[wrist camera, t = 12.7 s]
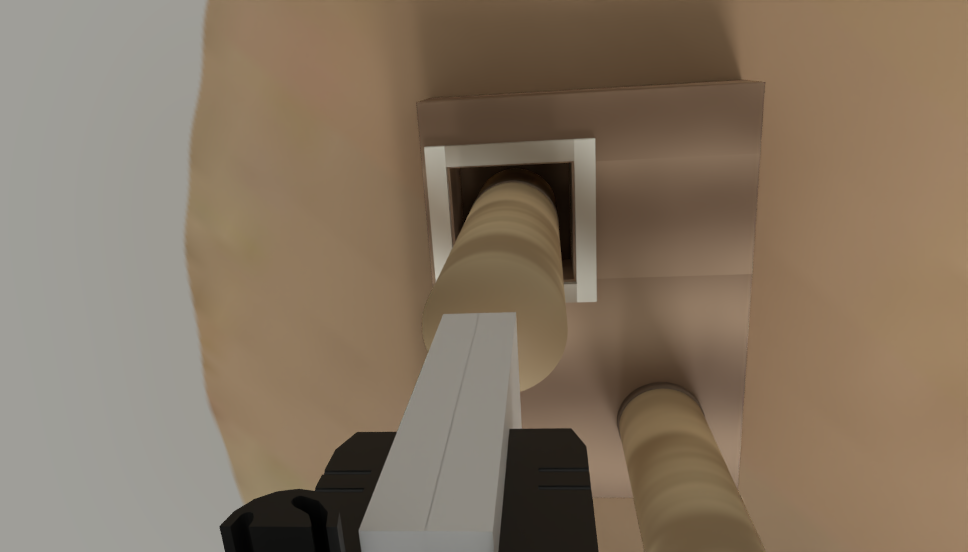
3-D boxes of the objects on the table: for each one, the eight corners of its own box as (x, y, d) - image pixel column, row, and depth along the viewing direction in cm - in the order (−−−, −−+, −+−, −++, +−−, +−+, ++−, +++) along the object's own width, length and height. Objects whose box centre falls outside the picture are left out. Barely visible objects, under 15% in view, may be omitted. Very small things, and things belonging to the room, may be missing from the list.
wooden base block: (720, 459, 32) (843, 735, 19) (459, 460, 34) (404, 719, 20) (741, 79, 27) (934, 97, 14) (429, 98, 28) (328, 130, 15)
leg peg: (558, 246, 30) (570, 395, 17) (478, 249, 30) (427, 396, 17) (556, 166, 29) (567, 256, 15) (473, 169, 29) (414, 261, 16)
